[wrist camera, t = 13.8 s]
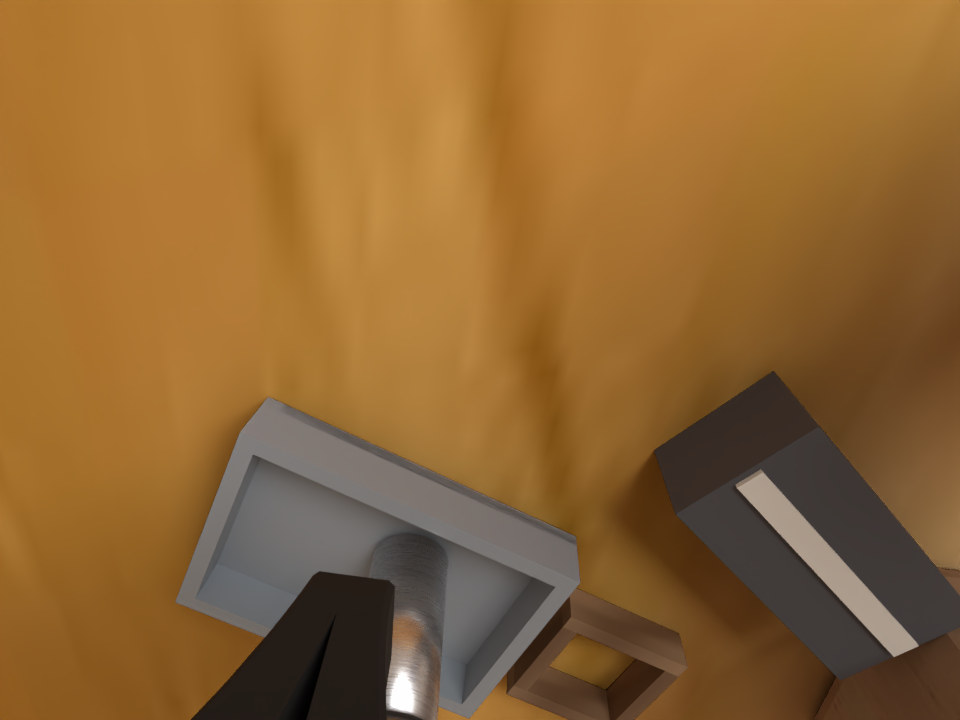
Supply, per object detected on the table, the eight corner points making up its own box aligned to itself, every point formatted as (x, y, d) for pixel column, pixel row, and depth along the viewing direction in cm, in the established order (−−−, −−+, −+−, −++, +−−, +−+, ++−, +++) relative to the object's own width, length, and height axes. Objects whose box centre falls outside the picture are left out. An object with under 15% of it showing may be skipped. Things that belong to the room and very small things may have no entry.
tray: (575, 536, 22) (580, 582, 20) (473, 668, 26) (469, 718, 24) (268, 396, 20) (240, 432, 18) (204, 558, 24) (175, 602, 22)
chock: (912, 537, 21) (982, 622, 18) (797, 596, 23) (842, 684, 20) (770, 367, 19) (821, 429, 16) (653, 446, 20) (676, 518, 17)
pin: (475, 561, 22) (471, 768, 16) (414, 602, 23) (388, 809, 17) (406, 513, 21) (373, 718, 15) (345, 560, 22) (293, 766, 16)
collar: (679, 633, 24) (688, 667, 22) (610, 703, 26) (615, 738, 24) (568, 585, 23) (571, 617, 22) (507, 660, 25) (506, 694, 24)
